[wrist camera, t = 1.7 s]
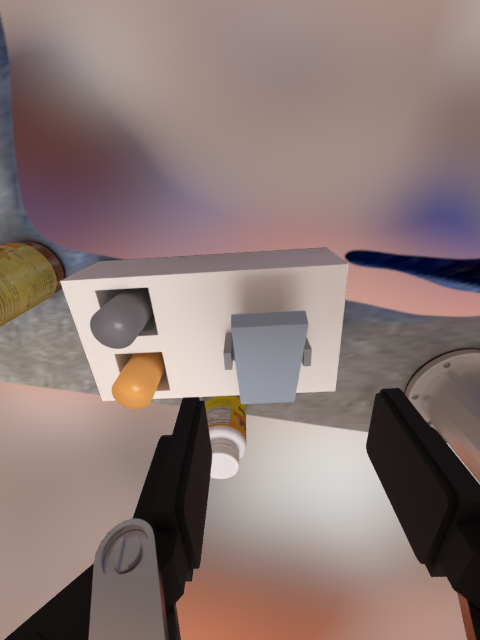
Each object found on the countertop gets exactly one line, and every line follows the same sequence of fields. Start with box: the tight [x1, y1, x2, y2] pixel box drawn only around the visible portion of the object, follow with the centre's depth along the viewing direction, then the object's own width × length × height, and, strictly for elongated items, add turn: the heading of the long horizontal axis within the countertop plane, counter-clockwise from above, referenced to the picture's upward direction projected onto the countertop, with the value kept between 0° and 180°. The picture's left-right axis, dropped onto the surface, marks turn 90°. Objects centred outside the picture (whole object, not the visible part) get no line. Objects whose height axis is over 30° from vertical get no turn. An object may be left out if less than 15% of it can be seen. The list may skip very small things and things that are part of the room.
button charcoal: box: [90, 287, 154, 349], centre depth 25 cm, size 4×4×8 cm
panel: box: [60, 248, 349, 401], centre depth 27 cm, size 24×13×10 cm, turn 94°
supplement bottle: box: [204, 395, 246, 479], centre depth 33 cm, size 6×6×10 cm
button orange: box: [112, 352, 165, 409], centre depth 28 cm, size 4×4×8 cm
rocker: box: [231, 311, 308, 404], centre depth 23 cm, size 6×11×2 cm, turn 4°
